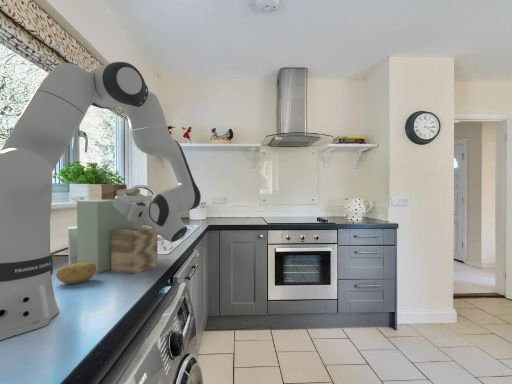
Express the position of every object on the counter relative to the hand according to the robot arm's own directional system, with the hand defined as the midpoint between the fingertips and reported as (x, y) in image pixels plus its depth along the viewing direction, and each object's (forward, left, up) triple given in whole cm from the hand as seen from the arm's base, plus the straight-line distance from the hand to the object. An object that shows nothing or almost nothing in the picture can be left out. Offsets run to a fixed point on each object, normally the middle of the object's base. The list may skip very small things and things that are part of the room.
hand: (128, 193), depth 110 cm
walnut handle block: (0, +4, -2) cm, 5 cm away
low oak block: (0, -3, -29) cm, 29 cm away
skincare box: (-5, +22, -29) cm, 37 cm away
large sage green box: (0, +10, -29) cm, 31 cm away
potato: (-20, 0, -29) cm, 35 cm away
